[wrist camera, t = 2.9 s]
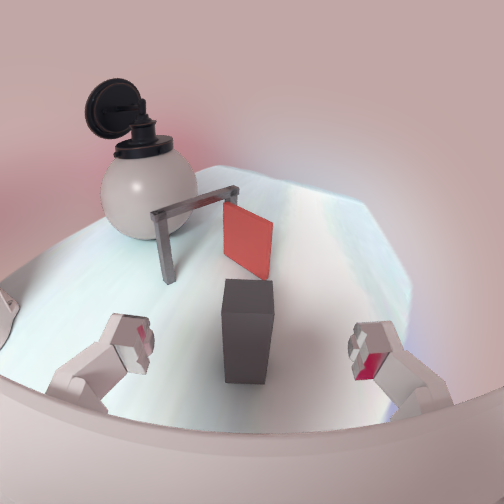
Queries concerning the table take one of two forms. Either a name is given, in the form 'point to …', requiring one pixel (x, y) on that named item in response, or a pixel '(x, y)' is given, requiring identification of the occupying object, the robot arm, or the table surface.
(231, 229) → the red square panel
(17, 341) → the table surface
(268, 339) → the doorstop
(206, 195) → the frame
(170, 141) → the light fixture
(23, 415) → the robot arm
